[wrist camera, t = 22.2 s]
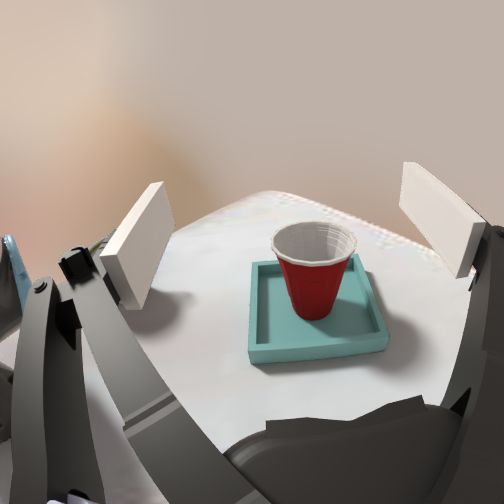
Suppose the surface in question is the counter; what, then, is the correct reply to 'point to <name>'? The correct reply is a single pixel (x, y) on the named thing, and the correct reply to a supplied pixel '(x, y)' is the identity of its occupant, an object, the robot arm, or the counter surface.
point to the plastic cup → (313, 264)
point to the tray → (312, 332)
